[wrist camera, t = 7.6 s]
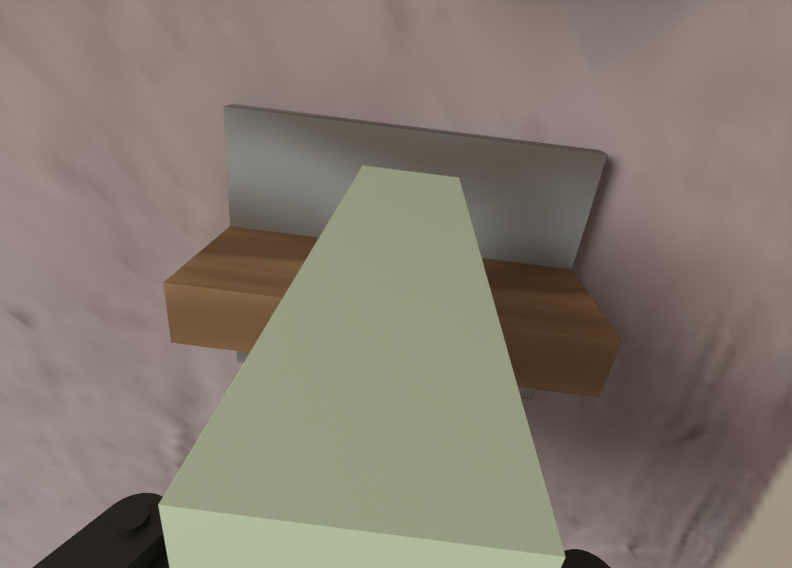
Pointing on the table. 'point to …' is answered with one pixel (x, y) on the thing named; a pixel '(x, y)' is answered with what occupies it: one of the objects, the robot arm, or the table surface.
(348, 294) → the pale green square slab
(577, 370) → the slotted wooden stand
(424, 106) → the table surface
